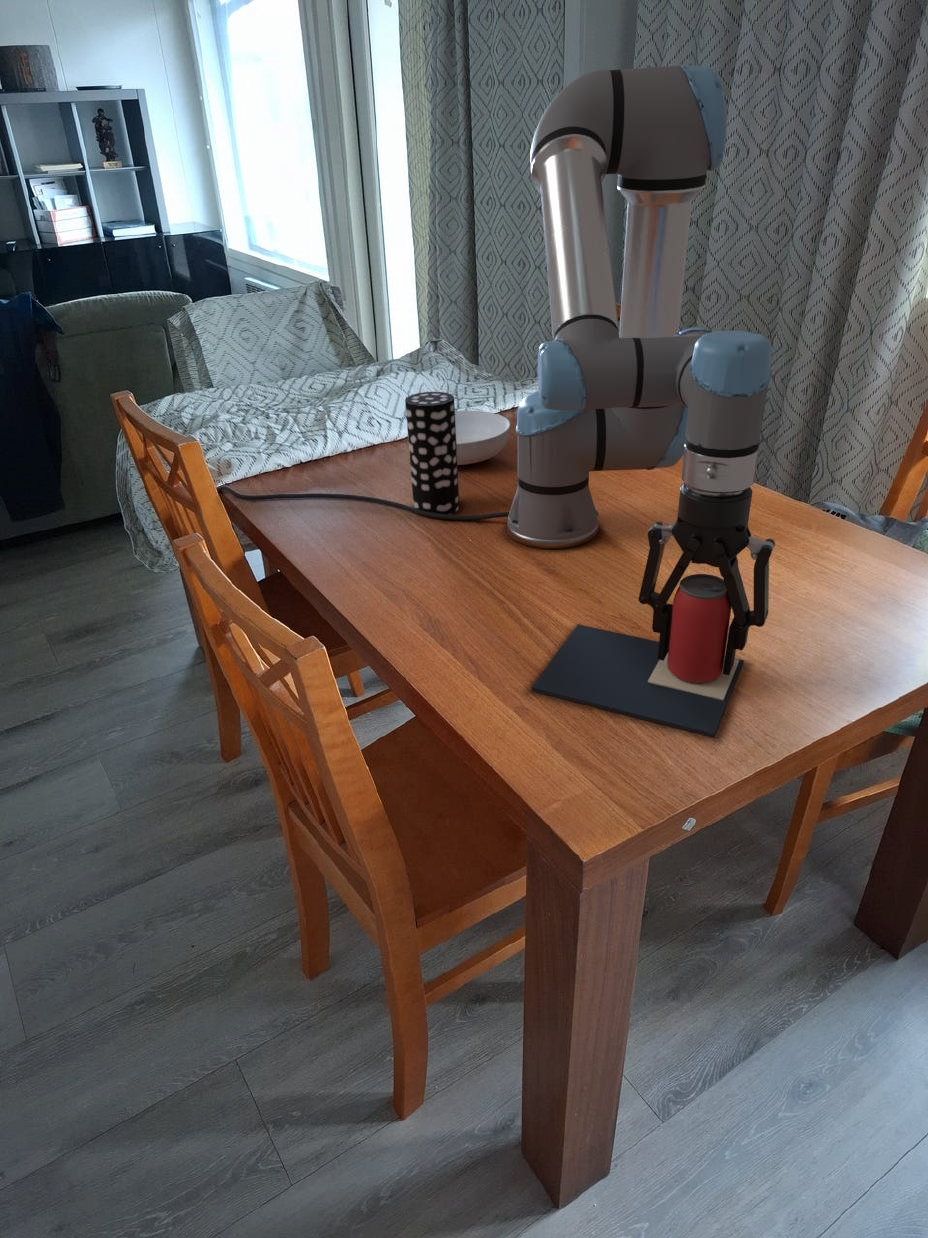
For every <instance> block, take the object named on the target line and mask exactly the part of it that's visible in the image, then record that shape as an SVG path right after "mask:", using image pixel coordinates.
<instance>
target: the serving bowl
mask: <svg viewBox="0 0 928 1238" xmlns="http://www.w3.org/2000/svg"><path fill="white" fill-rule="evenodd" d="M455 426H456V446H457V466H464V465H471V464H476V463H480V462H483V461H486V460H490V459H491V458H493V457H494V456H496V455H497V454H499V453H500V452H501V451H502V450H503V449H504V447H505V446H506V445H507V443H508V440H509V437H510V433H511V422H510V420H509V419H508V418H507V417H505V416H503V415H500V414H498V413H494V412H490V411H482V410H455Z"/></svg>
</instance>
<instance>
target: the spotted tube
mask: <svg viewBox="0 0 928 1238" xmlns="http://www.w3.org/2000/svg"><path fill="white" fill-rule="evenodd" d="M404 404H405V415H406V426H407V429H406V431H407V441H408V455H409V464H410V465H409V466H410V479H411V490H412V491H411V492H412V503H413V504H412V505H413V507H414V508H416V509H419V510H422V511H426V512H432V513H438V514H447V515H454V514H455V513H456V512H458V511H459V509H460V489H459V488H460V487H459V468H458V465H457V446H456V426H455V411H456V408H455V395H453V394H451V393H449V392H444V391H423V392H417V393H414V394H410V395H408V396H407V397H405V399H404ZM425 517H427V516H425Z"/></svg>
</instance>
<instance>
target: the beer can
mask: <svg viewBox="0 0 928 1238" xmlns="http://www.w3.org/2000/svg"><path fill="white" fill-rule="evenodd" d="M678 585H679V586H678V587H677V590H676V592H675V594H674V597H673V601H672V604H673V609H672V619H671V630H670V640H669V650H668V660H667V665H668V669H669V670H670V672H671V673H672V674H673V675H674V676H675V677H677V678H678V679H681V680H683V681H686V682H690V683H707V682H711V681H713V680H715V679H717V678H718V677H719V676H720V675H721V674H722V670H723V664H724V657H725V653H726V646H727V639H728V632H729V627H730V623H731V622H730V621H731V614H732V607H731V603H730V600H729V596H728V593H727V589H726V586H725V582H724V579H723V578H721V577H720V576H717V575H713V574H708V573H693V574H689V575H686V576H684V577H683V578H681V579H680V581H679V583H678Z"/></svg>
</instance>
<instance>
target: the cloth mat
mask: <svg viewBox="0 0 928 1238" xmlns="http://www.w3.org/2000/svg"><path fill="white" fill-rule="evenodd" d="M658 649H659V640H658V641H657V640H653V639H649V638H643V637H639V636H634V635H631V634H630V635H629V634H626V633H621V632H616V631H611V630H606V629H601V628H598V627H592V626H587V625H583V624H576V626H575V628H574V629H573V630H572V631H571V633H570V634H569V636H568V637H567V638H566V639H565V641H564V642H563V644H562V645H561V647H560V648H559V649H558V650H557V651H556V653H555V655H554V656H553V657H552V659H551V660H550V661H549V663H548V664H547V665H546V666H545V668H544V669H543V671H542V672H541V673H540V675H539V676H538V677H537V679H536V680H535V681H534V683H533V684H532V686H531V688H530V690H531V692H534V693H539V694H542V695H546V696H550V697H554V698H557V699H561V700H565V701H569V702H573V703H576V704H581V705H585V706H589V707H593V708H596V709H600V710H603V711H604V710H605V711H608V712H612V713H616V714H619V715H623V716H627V717H631V718H634V719H639V720H643V721H647V722H650V723H655V724H659V725H662V726H666V727H671V728H674V729H678V730H682V731H686V732H690V733H693V734H698V735H702V736H704V737H710V738H713V739H715V737H716V735H717V732H718V730H719V727H720V724H721V722H722V720H723V717H724V714H725V712H726V710H727V707H728V704H729V702H730V699H731V696H732V694H733V692H734V690H735V686H736V684H737V681H738V679H739V676H740V674H741V671H742V669H743V666H744V663H745V660H744V659H740V658H736V657H735V659H734V665H733V667H732V669H731V672H730V674H729V675H725V674H723V670H722V674H721V675H720V676H719V677H718V678H717V679H715V680H713V681H711V682H707V683H690V682H686V681H683V680H681V679H678V678H677V677H675V676H674V675H673V674H672V673H671V672H670V670H669V669H668V665H667V660H668V653H667V655H666V657H665V659H664V661H662V660H658ZM724 661H725V657H724ZM723 668H724V664H723Z"/></svg>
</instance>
